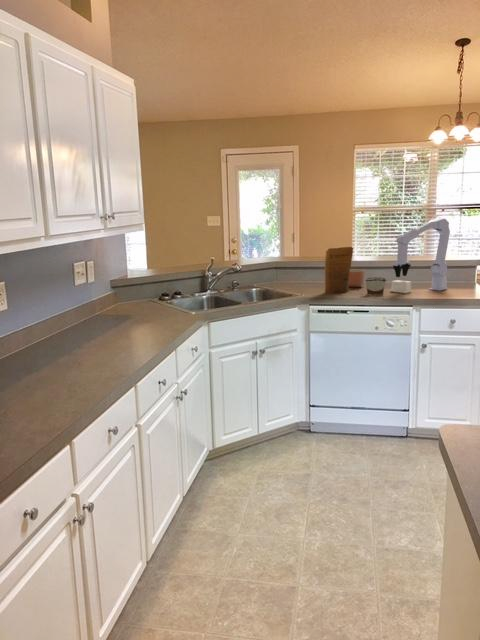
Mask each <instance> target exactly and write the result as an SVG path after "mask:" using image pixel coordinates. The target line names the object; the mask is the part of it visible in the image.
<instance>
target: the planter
mask: <svg viewBox="0 0 480 640" xmlns="http://www.w3.org/2000/svg"><path fill="white" fill-rule="evenodd" d="M365 273H366V271H365V270H364V269H361V268H360V269H358V268H357V269H356V268H354V269H353V268H352V269H351V268H350V272H349V282H348V288H354V289H355V288H357V289H358V288H360V287H362V286H363V285H364V283H365V276H366V275H365Z"/></svg>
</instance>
